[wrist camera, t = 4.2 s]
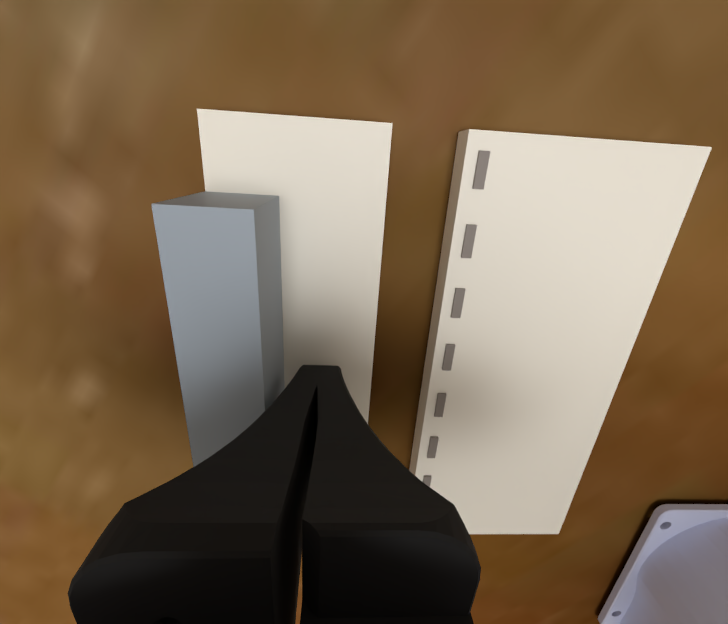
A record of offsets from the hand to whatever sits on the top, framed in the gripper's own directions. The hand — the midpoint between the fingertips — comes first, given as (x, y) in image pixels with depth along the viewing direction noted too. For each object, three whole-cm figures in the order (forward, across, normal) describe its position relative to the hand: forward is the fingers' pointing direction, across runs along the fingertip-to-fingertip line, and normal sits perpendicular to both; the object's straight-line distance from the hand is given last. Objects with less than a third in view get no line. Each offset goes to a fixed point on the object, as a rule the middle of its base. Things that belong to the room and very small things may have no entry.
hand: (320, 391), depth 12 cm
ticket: (+2, -7, 0) cm, 8 cm away
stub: (+2, +1, 0) cm, 2 cm away
